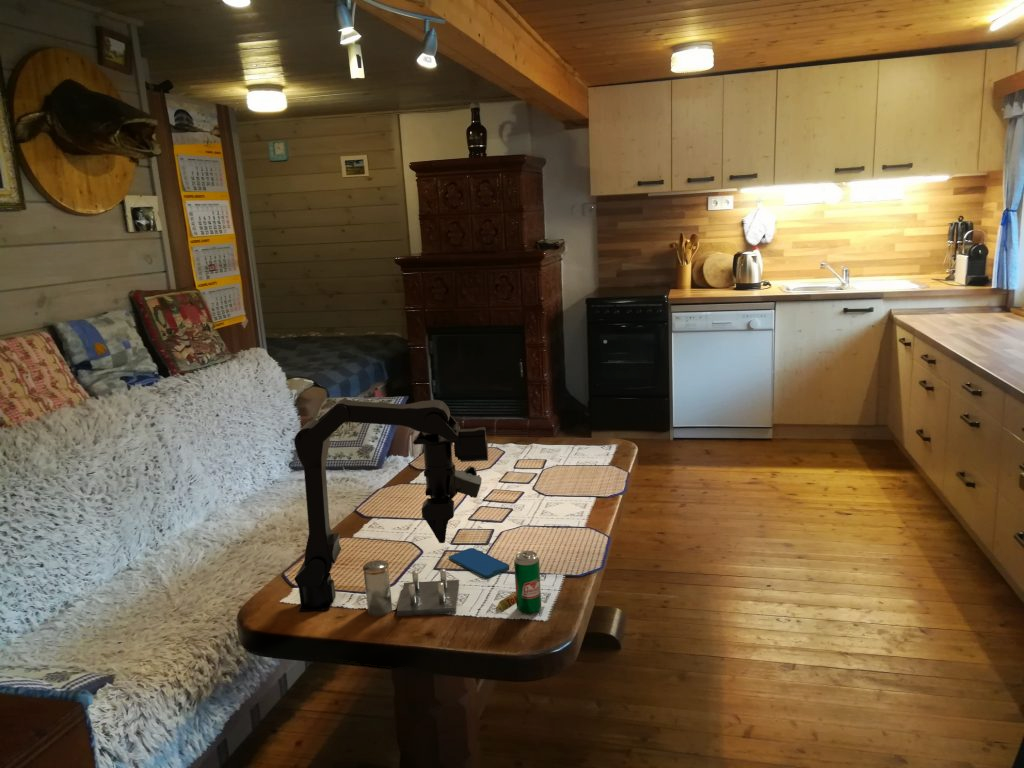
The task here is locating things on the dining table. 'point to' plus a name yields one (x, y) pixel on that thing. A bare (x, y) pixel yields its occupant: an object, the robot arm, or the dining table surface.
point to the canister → (377, 587)
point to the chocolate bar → (507, 602)
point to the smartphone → (479, 563)
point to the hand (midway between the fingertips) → (443, 533)
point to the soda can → (527, 582)
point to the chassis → (428, 596)
